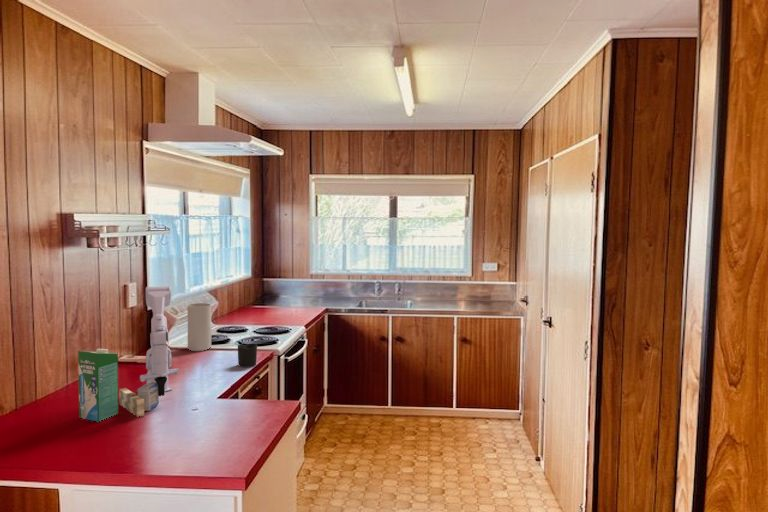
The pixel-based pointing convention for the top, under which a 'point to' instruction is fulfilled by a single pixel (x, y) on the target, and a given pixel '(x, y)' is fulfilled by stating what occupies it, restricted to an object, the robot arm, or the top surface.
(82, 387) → the milk carton
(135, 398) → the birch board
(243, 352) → the pen holder
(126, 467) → the top surface
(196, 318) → the cylinder vase
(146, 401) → the medicine box
